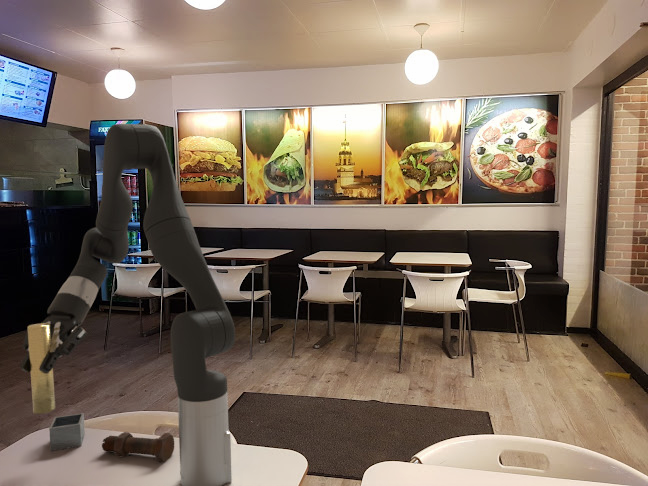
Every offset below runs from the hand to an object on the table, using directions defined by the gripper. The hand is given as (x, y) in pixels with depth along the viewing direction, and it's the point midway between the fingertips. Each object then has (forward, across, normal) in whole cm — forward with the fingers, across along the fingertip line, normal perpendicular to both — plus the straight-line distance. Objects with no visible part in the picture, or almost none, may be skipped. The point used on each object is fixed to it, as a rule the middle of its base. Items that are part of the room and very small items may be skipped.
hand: (34, 370), depth 98 cm
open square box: (+8, -1, +20) cm, 21 cm away
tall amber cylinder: (+5, 0, +8) cm, 9 cm away
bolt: (+9, +18, +19) cm, 28 cm away
